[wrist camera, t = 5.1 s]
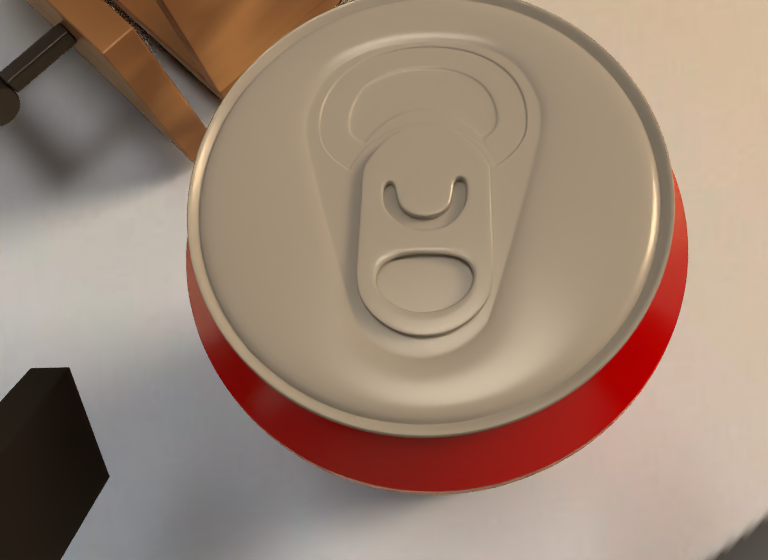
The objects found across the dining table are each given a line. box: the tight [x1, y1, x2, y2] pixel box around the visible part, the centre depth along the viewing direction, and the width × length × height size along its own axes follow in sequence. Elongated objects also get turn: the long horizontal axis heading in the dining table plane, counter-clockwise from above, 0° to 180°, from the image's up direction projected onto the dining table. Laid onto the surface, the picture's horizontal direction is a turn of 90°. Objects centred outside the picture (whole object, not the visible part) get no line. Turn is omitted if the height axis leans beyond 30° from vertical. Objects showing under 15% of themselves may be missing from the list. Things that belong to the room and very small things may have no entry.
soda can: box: [186, 0, 688, 495], centre depth 16 cm, size 8×8×15 cm
